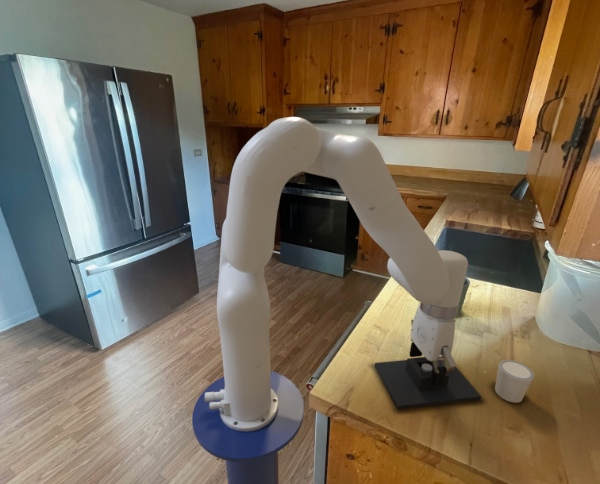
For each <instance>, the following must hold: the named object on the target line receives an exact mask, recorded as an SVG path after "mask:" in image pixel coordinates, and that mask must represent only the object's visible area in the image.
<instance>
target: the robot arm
mask: <svg viewBox="0 0 600 484" xmlns="http://www.w3.org/2000/svg"><path fill="white" fill-rule="evenodd" d="M302 172H304V173H306V174H307V173H308V174H311V175H316V176H320V177H324V178H328V179H333V180H335V181H336V183H338V185H339V187H340V189H341V190H342V192H343V194H344V196H345V198H346V199H347V200H348V202H349V204H350V205H351V207H352V209H353V211H354V212H355V214H356V216H357V218H358V220H359V222H360V224H361V225H362V227H363V230H365V231H366V232H367V234H368V235H369V237H370V238H371V239H372V240H373V241H374V242H375V243H376V244H377V245H378V246H379V247H380V248H381V249H382V250H383V251H384V252H385V253H386V254H387V256H389V258H388V261H387V264H386V267H387V271H388V274H389V276H390V277H391V278H392V279H393V280H394V281H395V282H396V283H397V284H398V285H399V286H400V287H402V288H403V289H404V290H405V291H406V292H407V293H408V294H409V295H410V296H411V297H412V298H413V299H415V301H417V302H419V304H418V307H417V308H416V311H415V314H414V317H413V319H411V321H410V322H411V324H410V325H411V329H410V341H411V344H410V349H409V357H410V358H418V357H426V358H427V359H428V360H429V361H433V365H434V370H432V372H431V377H430V381H429V384H430V385H431V386H433V385H442V384H443V383H444V380H445V376H446V372H452V370H453V369H454V368H455V367H457V365H456V363H455V360H454V358H453V355H452V352H453V351H452V350H453V347H454V342H455V341H454V340H455V332H456V318H457V317H456V314H457V310H458V306H459V302H460V297H461V293H462V289H463V285H464V281H465V277H466V276H467V272H468V267H469V261H468V258H467V257H466V256H465V255H463V254H461V253H459V252H457V251H453V250H447V249H445V250H444V249H442V250H438V248H437V246H436V245H435V244H434V242H433V240H432V239H431V238H430V237H429V236H428V234H427V232H426V231H425V230H424V229H423V228H422V226H421V224H420V223H419V221H418V220H417V219H416V217H415V216H414V215H413V213H412V212H411V211H410V210H409V208H408V207H407V205H406V203H405V201H404V199H403V197H402V195H401V193H400V191H399V189H398V187H397V185H396V183H395V181H394V179H393V176H392V174H391V172H390V170H389V168H388V166H387V164H386V162H385V160H384V158H383V155H382V154H381V152H380V149H379V148H378V147H377V145H376V144H375V143H374V142H373V141H372V140H370V139H369V138H367V137H364V136H358V135H351V134H350V135H349V134H343V133H338V132H334V131H330V130H326V129H322V128H319V127H317V126H315V125H314V124H312V122H311V121H309V120H307V119H306V118H303V117H300V116H299V117H297V116H288V117H282V118H277V119H274V120H273V121H272V122H271V123H269V125H267V126H266V127H265V128H263V129H261V130H259V131H258V132H256V134H254V135H253V136H252V137H251V138H250V139H249V140H248V141H247V142H246V144H244V145H243V147H242V148H241V150H240V151H239V153H238V155H237V156H236V159H235V160H234V163H233V166H232V170H231V174H230V180H229V187H228V197H227V204H226V214H225V215H226V217H225V219H224V221H223V224H222V227H221V237H220V238H221V239H220V252H219V267H218V280H217V281H218V283H217V290H216V291H217V295H216V317H217V318H216V319H217V324H218V330H219V338H220V348H221V349H220V350H221V356H222V367H223V377H224V380H225V389H222V390H220V392H206V393H205V402H210V405H209V408H210V409H216V408H220V416H221V419H222V421H223V422H224V423H225V424H226V425H227V426H228V427H230V428H232V429H234V430H237V431H246V432H247V431H254V430H257V429H260V428H262V427H264V426H266V425H267V424H269V423H270V422H271V421H272V420H273V418H274V417H275V416H276V413H277V411H278V397H277V395H276V393H275V392H274V391H273V390H272V389H271V375H270V371H271V346H270V345H271V343H270V342H271V341H270V340H271V339H270V327H271V300H270V295H269V290H268V285H267V283H266V278H265V269H266V266H267V265H268V263H270V260H271V258H272V256H273V254H274V249H275V239H276V238H275V236H276V228H277V220H278V219H277V218H278V210H279V206H280V201H281V195H282V191H283V190H284V188H285V185H286V184H287V183H288V182H289V180H290V179H292V178H293V177H294V176H296V175H298V174H299V173H302ZM438 360H442V363H443V366H442V367H439V365H438ZM216 400H220V402H212V401H216Z"/></svg>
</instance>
